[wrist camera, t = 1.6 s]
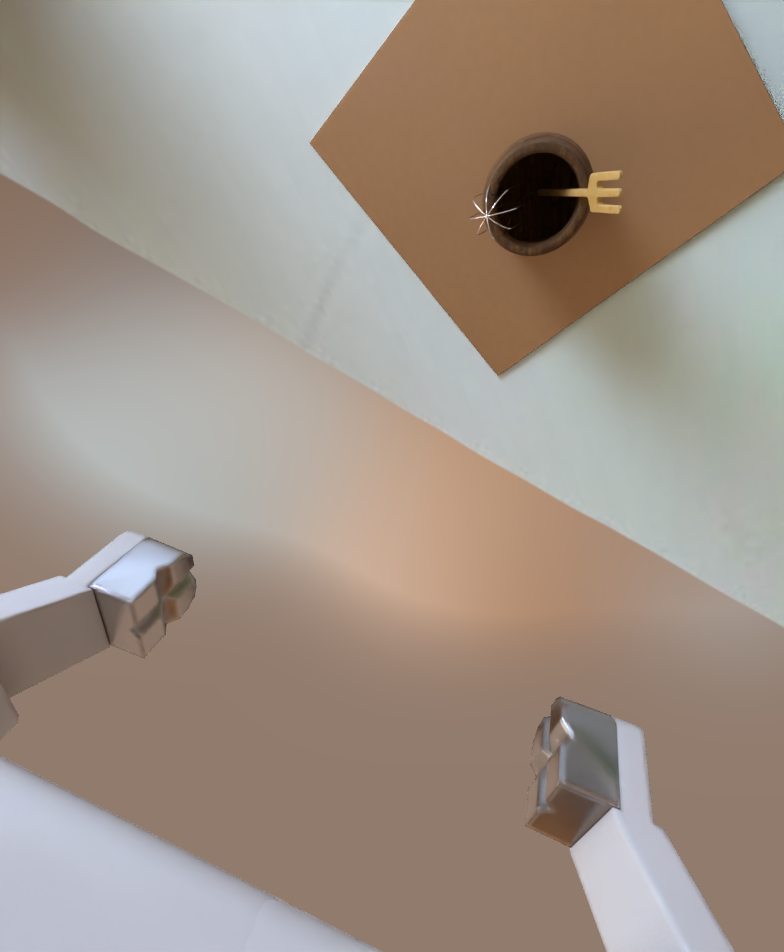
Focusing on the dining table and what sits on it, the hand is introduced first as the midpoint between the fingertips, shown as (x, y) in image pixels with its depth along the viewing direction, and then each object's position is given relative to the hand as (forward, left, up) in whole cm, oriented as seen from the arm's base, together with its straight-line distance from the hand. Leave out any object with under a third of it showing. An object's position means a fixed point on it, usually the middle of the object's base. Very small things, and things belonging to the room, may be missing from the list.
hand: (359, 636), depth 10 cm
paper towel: (-5, +7, -30) cm, 31 cm away
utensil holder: (-3, +6, -30) cm, 30 cm away
